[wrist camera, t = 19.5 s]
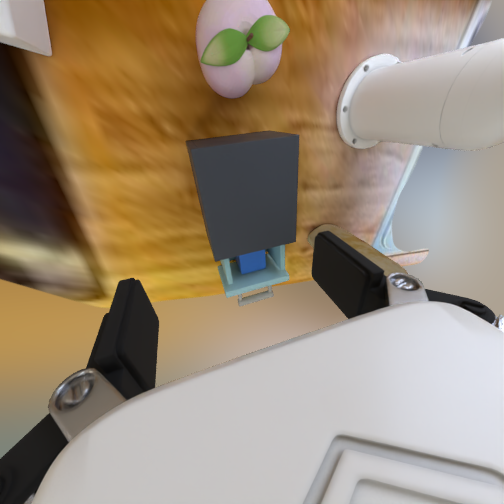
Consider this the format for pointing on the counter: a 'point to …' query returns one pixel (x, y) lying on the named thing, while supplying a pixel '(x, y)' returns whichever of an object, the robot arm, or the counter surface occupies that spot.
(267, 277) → the teal drawer
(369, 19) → the counter surface
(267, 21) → the decorative fruit
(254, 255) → the blue cube
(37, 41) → the medicine bottle
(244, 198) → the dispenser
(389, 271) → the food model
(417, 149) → the counter surface
